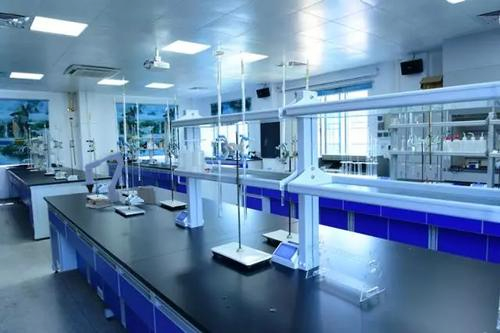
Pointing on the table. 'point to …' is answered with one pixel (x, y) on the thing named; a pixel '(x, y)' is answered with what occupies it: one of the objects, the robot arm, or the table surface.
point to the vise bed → (100, 204)
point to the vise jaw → (93, 201)
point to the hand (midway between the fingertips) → (90, 193)
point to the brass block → (100, 199)
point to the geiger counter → (146, 194)
